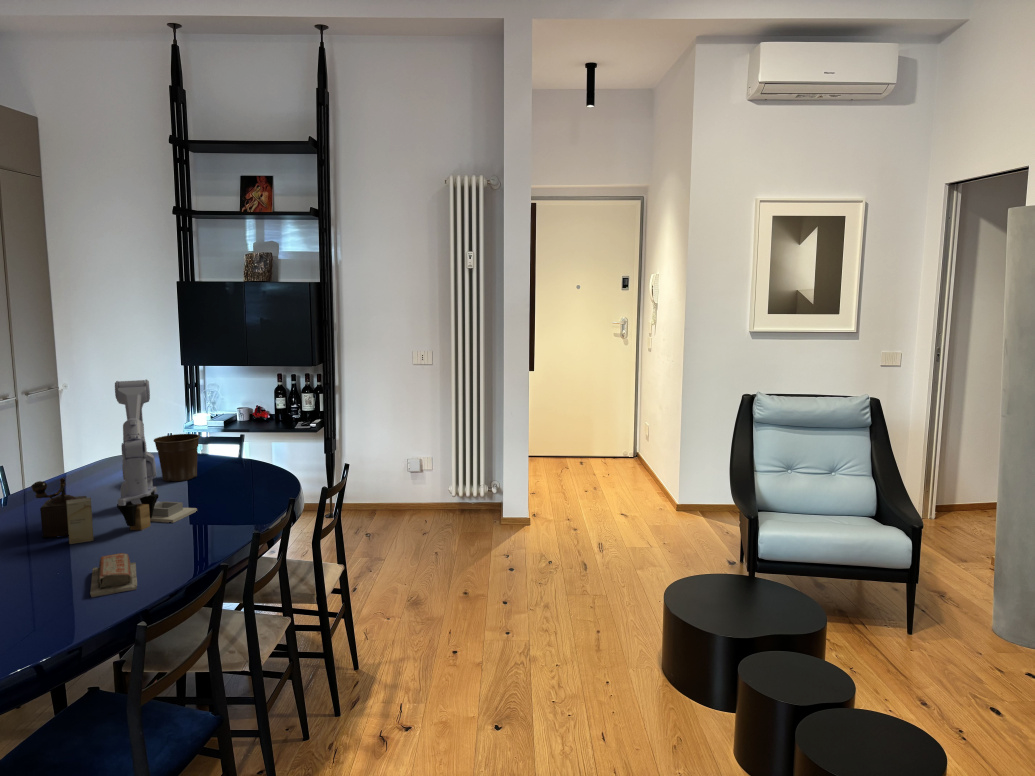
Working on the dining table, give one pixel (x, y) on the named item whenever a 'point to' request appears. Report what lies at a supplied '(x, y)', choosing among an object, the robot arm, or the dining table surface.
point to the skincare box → (79, 520)
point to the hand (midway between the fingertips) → (139, 521)
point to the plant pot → (178, 456)
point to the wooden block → (141, 517)
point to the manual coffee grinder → (54, 509)
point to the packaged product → (113, 575)
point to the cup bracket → (170, 512)
